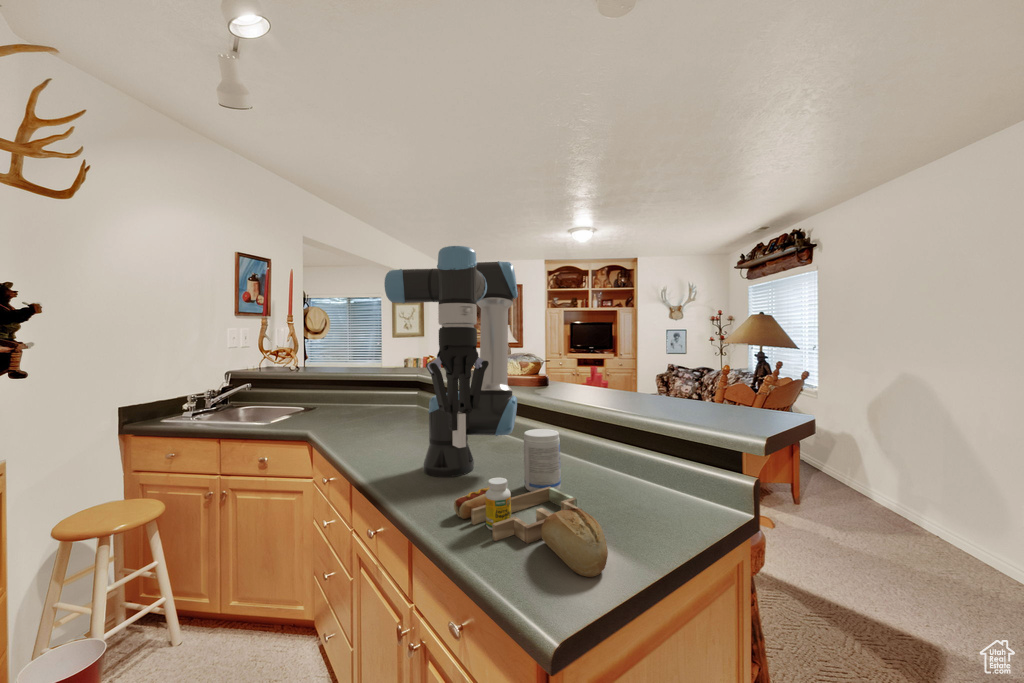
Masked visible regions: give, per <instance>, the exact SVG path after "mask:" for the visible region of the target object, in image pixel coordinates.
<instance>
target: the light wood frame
mask: <svg viewBox="0 0 1024 683" xmlns="http://www.w3.org/2000/svg"><path fill="white" fill-rule="evenodd" d="M546 502H551V503H553V504H555V505H557V506H558V507H560V511H561V510H568V509H571V508H576V509H580V510H583V509H582V508H581V507H578V498H576V497H574V496H572V495H571V494H567V493H565V492H563V491H561V490H560V489H559V490H557V489H554V488H552V487H550V486H549V487H546V488H542V489H539V490H535V491H532V492H531V491H528V492H526V493H522V494H519V495H515V496H512V497H511V514H512V513H515V512H519V511H522V510H525V509H528V508H531V507H534V506H538V505H541V504H544V503H546ZM535 512H536V513H535V514H536V516H535V519H536V521H535V522H532V523H530V524H528V523H526V522H525V521H523V520H522V519H520V518H519V517H517V516H513V517H512V516H511V518H509V519H506V520H503V521H500V522H497V523H494V524H492V530H491V531H492V532H491V533H492V540H493V541H495V542H497V541H500V540H502V539H506V538H508V537H510V536H514V535H515V537H517V538H518V539H520V540H521V541H523V542H524V543H526V544H528V545H529V544H531V543H534V542H536V541H538V540H541V539H542V536H541V528H542V525H543V523H544V520H545V519H546V518H547V517H548V516H549V515H551V514H553V513H552V512H550V511H549V510H547V509H545V508H543V507H540V508H536V509H535ZM470 518H471V524H472V525H473V526H474V525H477V524H478V525H479V524H480V523H484V522H486V505H484V506H480V507H477V508H473V509H471V517H470ZM542 540H543V539H542Z"/></svg>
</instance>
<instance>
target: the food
mask: <svg viewBox="0 0 1024 683" xmlns="http://www.w3.org/2000/svg"><path fill="white" fill-rule="evenodd" d="M488 489H489V487H488V486H487V487H484V488H480V489H478V490H476V491H471V492H468V494H466V495H462V496H460V497H457V498H455V500H454V502H453V509H454V512H455V513H456V514H455V515H456V516H457V517H459V518H461V519H463V520H465V519H469V518H471V509H473V508H477V507H480V506H484V505H486V498H485V494H486V491H487V490H488Z"/></svg>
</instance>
